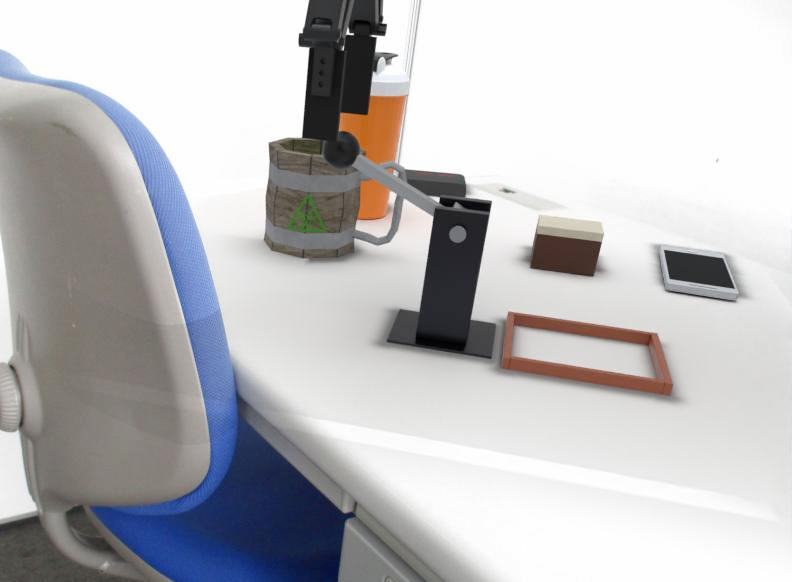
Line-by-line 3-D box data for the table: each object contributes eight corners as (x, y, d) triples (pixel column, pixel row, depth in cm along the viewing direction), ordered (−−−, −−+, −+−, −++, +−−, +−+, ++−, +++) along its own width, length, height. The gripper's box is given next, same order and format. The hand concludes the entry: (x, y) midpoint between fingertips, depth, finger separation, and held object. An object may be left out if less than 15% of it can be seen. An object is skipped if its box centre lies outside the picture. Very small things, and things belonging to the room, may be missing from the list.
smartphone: (721, 260, 106) (723, 252, 105) (737, 301, 93) (739, 293, 93) (658, 251, 108) (660, 244, 108) (665, 290, 95) (667, 282, 95)
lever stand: (385, 352, 77) (404, 209, 71) (398, 320, 84) (416, 187, 78) (489, 369, 75) (517, 223, 69) (493, 335, 82) (520, 199, 76)
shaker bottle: (401, 210, 120) (421, 54, 110) (381, 225, 112) (401, 60, 103) (340, 200, 123) (355, 48, 114) (317, 214, 116) (331, 53, 106)
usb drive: (465, 198, 127) (468, 179, 126) (382, 191, 129) (384, 172, 127) (463, 190, 132) (466, 171, 130) (384, 183, 133) (386, 164, 132)
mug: (253, 261, 97) (259, 152, 91) (269, 234, 106) (275, 133, 101) (395, 277, 95) (410, 165, 89) (398, 248, 104) (412, 145, 99)
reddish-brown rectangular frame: (651, 353, 80) (657, 332, 79) (666, 406, 70) (673, 384, 69) (504, 330, 83) (508, 310, 82) (499, 378, 73) (503, 357, 72)
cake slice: (591, 263, 103) (601, 221, 100) (593, 276, 98) (604, 233, 96) (530, 255, 104) (539, 214, 102) (529, 267, 100) (538, 225, 98)
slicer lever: (312, 160, 74) (330, 126, 72) (320, 153, 76) (338, 120, 75) (462, 254, 73) (484, 223, 72) (465, 244, 76) (486, 213, 75)
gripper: (349, -157, 75) (325, 100, 85) (272, -205, 54) (252, 146, 64) (437, -154, 73) (402, 108, 83) (393, -202, 52) (353, 158, 62)
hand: (337, 125), depth 73 cm, fingers open, 13 cm apart
